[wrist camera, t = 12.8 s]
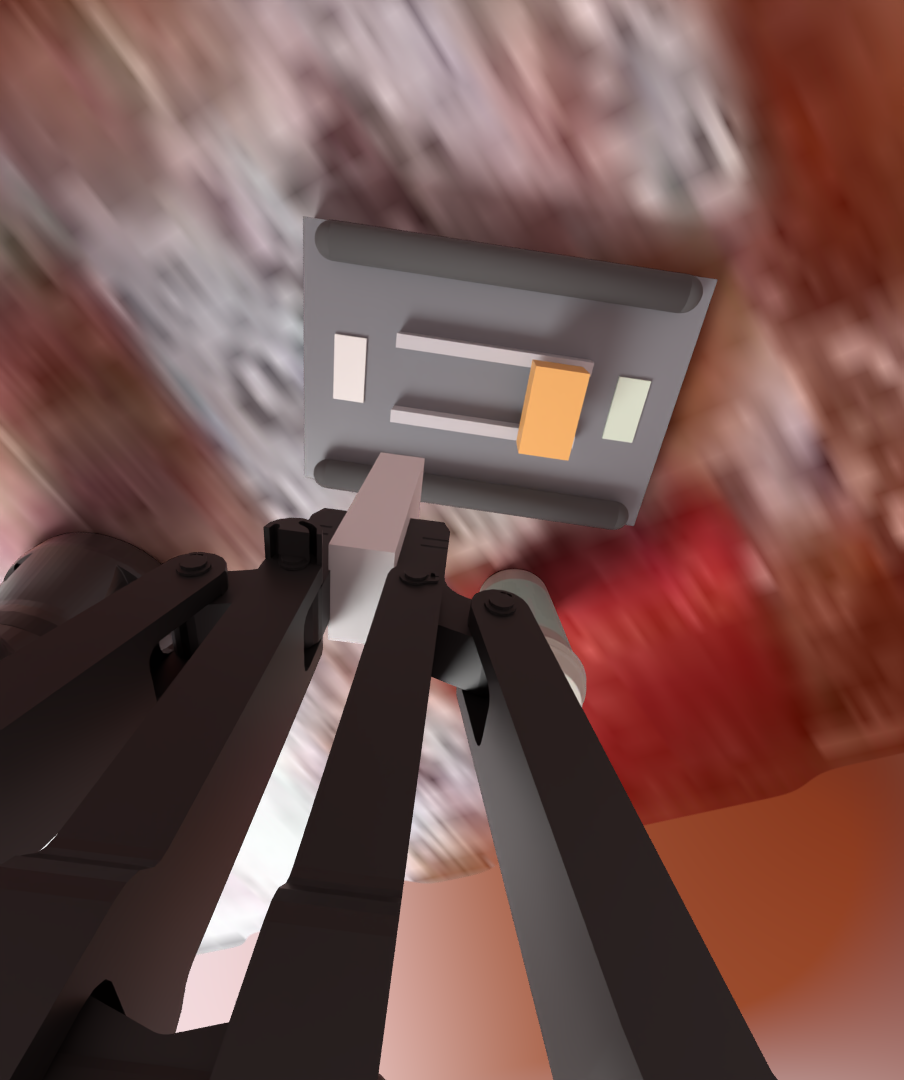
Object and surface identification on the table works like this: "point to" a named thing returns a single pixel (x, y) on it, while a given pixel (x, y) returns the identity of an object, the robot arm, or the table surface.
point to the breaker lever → (551, 409)
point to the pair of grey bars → (509, 272)
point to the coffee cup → (543, 621)
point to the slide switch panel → (484, 376)
